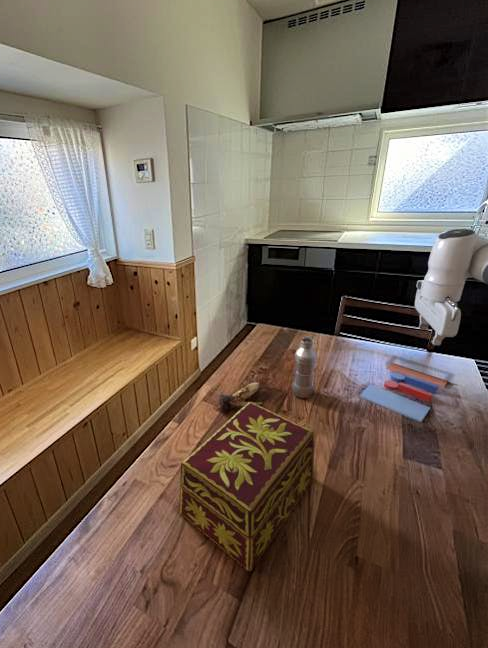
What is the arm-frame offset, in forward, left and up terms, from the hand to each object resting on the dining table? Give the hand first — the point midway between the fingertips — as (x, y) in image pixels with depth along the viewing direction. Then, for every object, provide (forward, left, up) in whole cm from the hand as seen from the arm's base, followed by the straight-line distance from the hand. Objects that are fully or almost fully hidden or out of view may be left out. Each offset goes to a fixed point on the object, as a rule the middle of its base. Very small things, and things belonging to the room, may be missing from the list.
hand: (429, 336), depth 97 cm
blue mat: (+3, +8, -21) cm, 23 cm away
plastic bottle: (+25, +23, -21) cm, 40 cm away
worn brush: (+36, +40, -21) cm, 57 cm away
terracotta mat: (+3, -14, -21) cm, 25 cm away
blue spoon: (+3, -6, -21) cm, 22 cm away
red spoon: (+3, 0, -21) cm, 21 cm away
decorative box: (+14, +64, -21) cm, 69 cm away
